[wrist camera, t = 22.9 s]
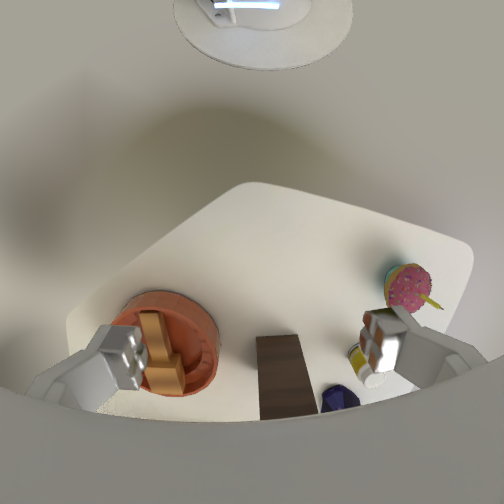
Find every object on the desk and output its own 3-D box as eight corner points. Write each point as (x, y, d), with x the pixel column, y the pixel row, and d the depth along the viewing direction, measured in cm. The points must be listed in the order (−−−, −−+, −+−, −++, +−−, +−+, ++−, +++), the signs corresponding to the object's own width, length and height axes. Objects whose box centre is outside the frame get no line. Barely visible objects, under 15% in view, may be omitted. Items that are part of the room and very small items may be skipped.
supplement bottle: (348, 364, 49) (361, 394, 41) (346, 346, 48) (361, 375, 40) (371, 357, 49) (387, 385, 41) (370, 338, 48) (388, 366, 40)
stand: (256, 336, 47) (262, 472, 22) (297, 334, 47) (331, 464, 22) (257, 371, 49) (263, 498, 24) (296, 369, 49) (321, 492, 24)
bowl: (103, 327, 46) (90, 345, 41) (163, 267, 43) (152, 282, 37) (174, 388, 51) (168, 409, 45) (242, 342, 47) (242, 364, 41)
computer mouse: (329, 429, 55) (332, 441, 51) (305, 395, 51) (309, 409, 48) (365, 412, 54) (370, 424, 50) (348, 376, 50) (354, 389, 46)
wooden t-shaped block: (136, 305, 41) (127, 318, 37) (169, 305, 41) (162, 318, 37) (157, 378, 46) (152, 393, 42) (186, 379, 46) (182, 395, 42)
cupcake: (418, 253, 43) (459, 279, 31) (413, 298, 45) (448, 331, 34) (375, 258, 43) (411, 288, 32) (372, 305, 45) (402, 343, 34)
